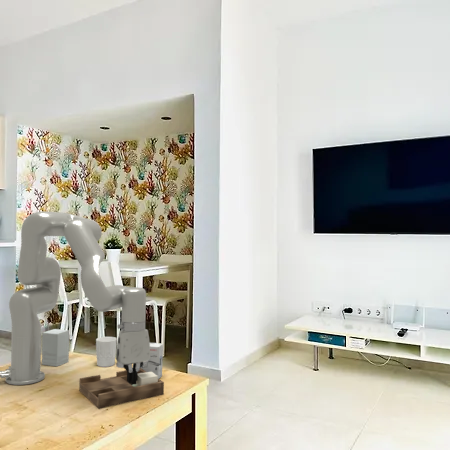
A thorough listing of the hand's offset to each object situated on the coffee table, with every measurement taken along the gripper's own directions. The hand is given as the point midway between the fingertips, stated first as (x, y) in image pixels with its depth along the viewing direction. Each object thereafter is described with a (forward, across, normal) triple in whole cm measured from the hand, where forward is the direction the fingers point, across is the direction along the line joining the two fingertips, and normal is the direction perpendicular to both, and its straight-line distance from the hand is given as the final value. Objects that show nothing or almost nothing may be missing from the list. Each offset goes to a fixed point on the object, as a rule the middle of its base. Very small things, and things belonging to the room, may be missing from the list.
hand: (132, 383), depth 145 cm
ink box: (+4, +13, +13) cm, 19 cm away
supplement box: (+4, -11, +48) cm, 49 cm away
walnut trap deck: (+4, -2, +4) cm, 6 cm away
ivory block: (+1, +5, -1) cm, 5 cm away
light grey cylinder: (+4, +5, +36) cm, 37 cm away
